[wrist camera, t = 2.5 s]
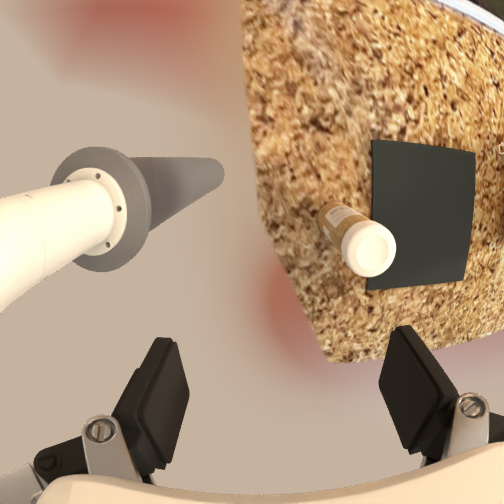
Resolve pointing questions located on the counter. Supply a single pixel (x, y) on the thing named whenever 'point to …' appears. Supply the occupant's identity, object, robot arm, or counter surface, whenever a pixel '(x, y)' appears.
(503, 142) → the rocket engine
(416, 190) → the mat
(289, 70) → the counter surface
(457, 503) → the robot arm
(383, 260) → the sprinkles bottle
